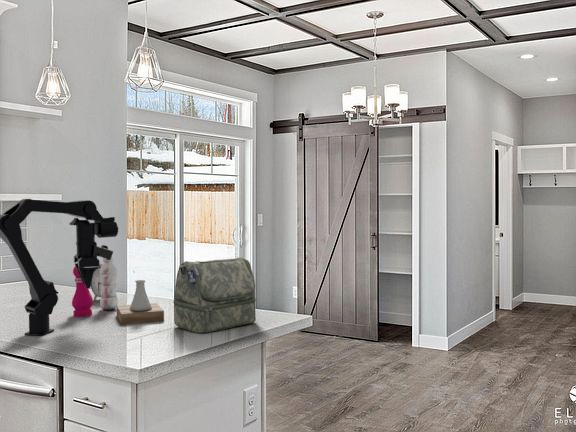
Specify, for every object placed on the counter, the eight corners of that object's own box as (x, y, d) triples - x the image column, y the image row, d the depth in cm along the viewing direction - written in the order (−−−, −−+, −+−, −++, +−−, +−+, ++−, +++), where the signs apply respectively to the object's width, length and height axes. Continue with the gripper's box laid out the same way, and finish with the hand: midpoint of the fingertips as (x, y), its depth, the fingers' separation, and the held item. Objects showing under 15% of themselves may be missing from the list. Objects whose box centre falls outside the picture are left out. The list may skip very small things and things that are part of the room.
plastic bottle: (99, 311, 226) (98, 257, 226) (100, 308, 233) (99, 255, 232) (118, 310, 228) (116, 257, 228) (118, 307, 235) (116, 255, 234)
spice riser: (164, 321, 209) (163, 310, 208) (121, 324, 204) (121, 313, 203) (156, 312, 224) (156, 303, 223) (116, 315, 219) (116, 306, 218)
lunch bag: (197, 336, 185) (196, 264, 184) (165, 327, 198) (164, 259, 198) (263, 323, 203) (263, 257, 202) (230, 316, 216) (229, 254, 215)
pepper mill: (86, 317, 216) (85, 260, 215) (68, 316, 218) (66, 260, 217) (97, 313, 223) (96, 258, 223) (78, 313, 225) (77, 258, 224)
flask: (143, 306, 216) (143, 278, 216) (155, 309, 211) (155, 280, 211) (125, 309, 211) (125, 280, 211) (137, 312, 206) (137, 282, 206)
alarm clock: (90, 299, 254) (89, 263, 254) (104, 297, 259) (103, 261, 259) (105, 302, 246) (105, 265, 246) (120, 300, 252) (119, 263, 251)
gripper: (115, 239, 196) (116, 288, 197) (107, 236, 213) (108, 281, 214) (78, 240, 191) (79, 290, 192) (73, 237, 209) (74, 283, 209)
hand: (86, 286), depth 202 cm, fingers open, 9 cm apart
